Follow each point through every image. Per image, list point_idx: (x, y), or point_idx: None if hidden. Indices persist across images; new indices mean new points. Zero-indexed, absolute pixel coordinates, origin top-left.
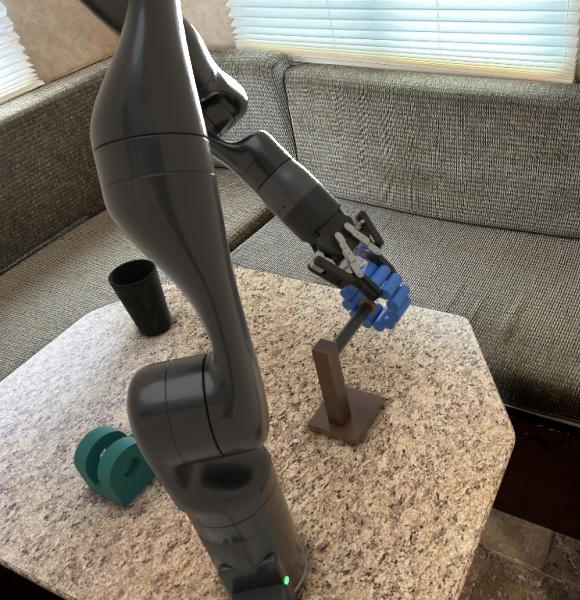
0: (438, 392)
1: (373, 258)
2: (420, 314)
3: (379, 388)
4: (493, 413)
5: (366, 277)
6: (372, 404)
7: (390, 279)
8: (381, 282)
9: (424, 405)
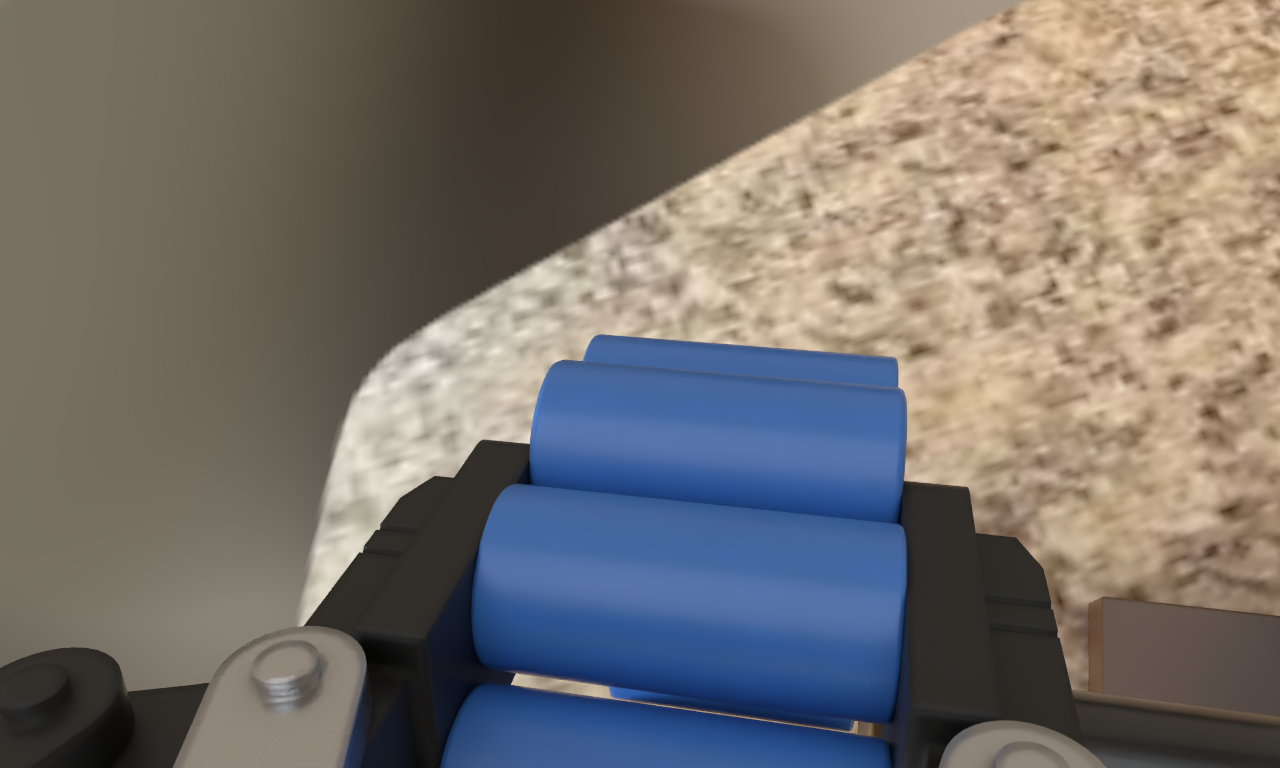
0: (909, 338)
1: (398, 756)
2: None
3: None
4: (956, 65)
5: (946, 679)
6: (1190, 646)
7: (678, 440)
8: (799, 514)
9: (1025, 379)
